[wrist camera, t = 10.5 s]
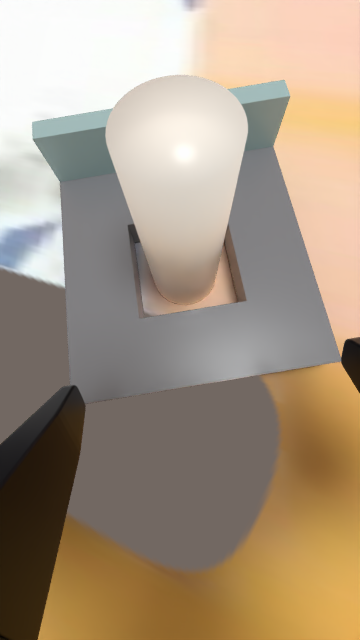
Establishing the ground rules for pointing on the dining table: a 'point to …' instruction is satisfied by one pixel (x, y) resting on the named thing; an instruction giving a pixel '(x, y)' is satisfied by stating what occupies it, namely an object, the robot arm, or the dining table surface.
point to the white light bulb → (179, 176)
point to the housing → (194, 325)
